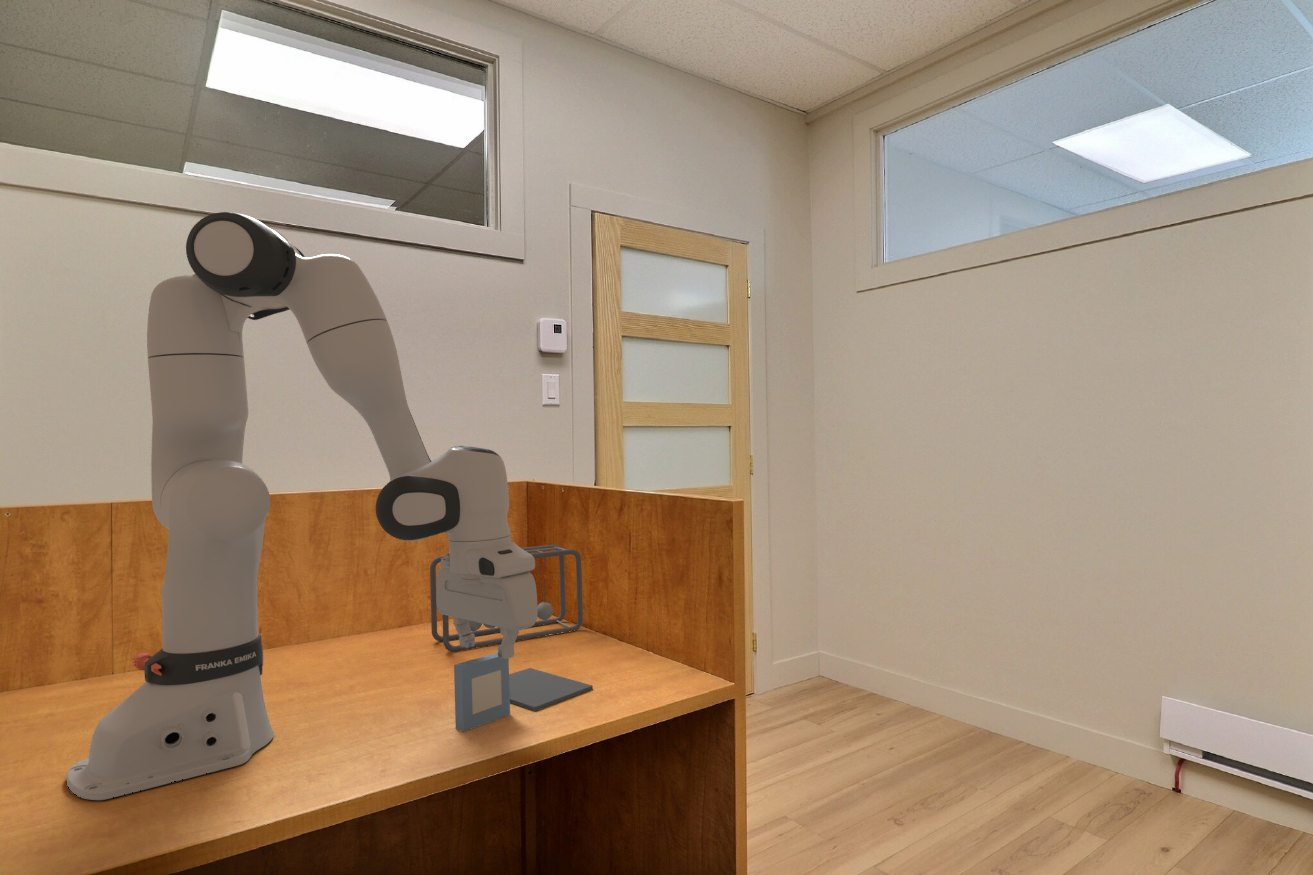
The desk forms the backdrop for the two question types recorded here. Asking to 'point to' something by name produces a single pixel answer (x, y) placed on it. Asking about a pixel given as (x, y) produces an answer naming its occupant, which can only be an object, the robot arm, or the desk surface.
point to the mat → (542, 689)
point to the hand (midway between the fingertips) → (486, 651)
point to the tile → (481, 691)
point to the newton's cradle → (542, 609)
